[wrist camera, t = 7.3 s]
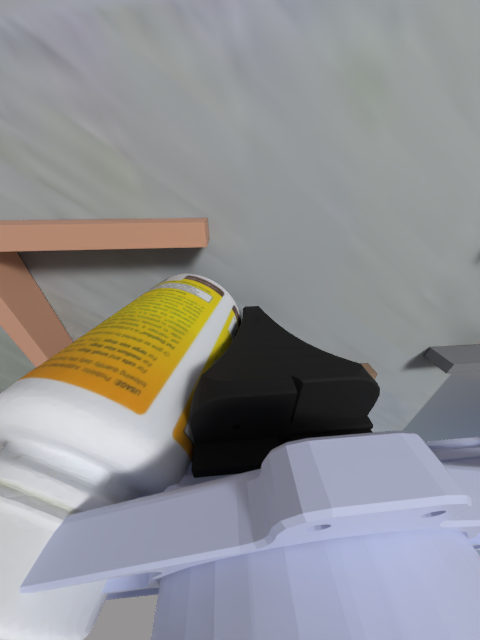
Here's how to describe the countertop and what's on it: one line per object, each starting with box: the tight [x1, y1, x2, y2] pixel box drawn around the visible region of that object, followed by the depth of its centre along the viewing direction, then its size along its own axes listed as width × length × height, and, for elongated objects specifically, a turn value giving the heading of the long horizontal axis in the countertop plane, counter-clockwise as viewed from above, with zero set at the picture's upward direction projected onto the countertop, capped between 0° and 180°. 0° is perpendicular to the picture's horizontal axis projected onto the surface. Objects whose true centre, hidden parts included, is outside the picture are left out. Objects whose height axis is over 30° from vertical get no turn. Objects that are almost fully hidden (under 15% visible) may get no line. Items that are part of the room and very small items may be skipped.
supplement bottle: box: [0, 274, 241, 640], centre depth 8 cm, size 6×6×10 cm
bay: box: [0, 218, 209, 368], centre depth 11 cm, size 11×11×2 cm
